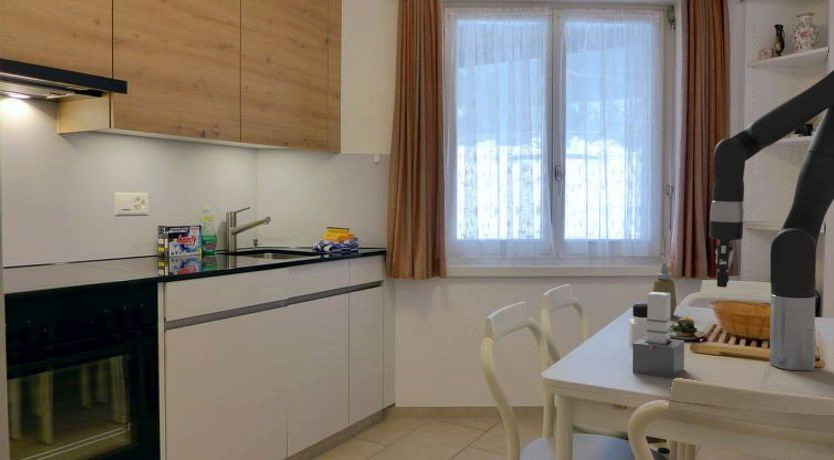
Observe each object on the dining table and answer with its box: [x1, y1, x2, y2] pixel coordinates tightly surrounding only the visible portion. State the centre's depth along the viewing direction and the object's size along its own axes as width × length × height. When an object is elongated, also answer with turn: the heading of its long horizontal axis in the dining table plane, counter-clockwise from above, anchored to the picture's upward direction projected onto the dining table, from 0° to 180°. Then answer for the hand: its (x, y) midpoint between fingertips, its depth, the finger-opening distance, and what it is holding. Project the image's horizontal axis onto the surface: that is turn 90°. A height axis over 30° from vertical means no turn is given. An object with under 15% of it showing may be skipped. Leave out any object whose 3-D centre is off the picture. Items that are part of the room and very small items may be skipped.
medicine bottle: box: [628, 302, 648, 348], centre depth 176 cm, size 7×7×12 cm
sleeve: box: [632, 336, 685, 380], centre depth 148 cm, size 16×16×8 cm
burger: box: [670, 313, 707, 341], centre depth 187 cm, size 12×12×8 cm
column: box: [647, 291, 672, 345], centre depth 148 cm, size 4×4×18 cm
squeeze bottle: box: [652, 262, 678, 317], centre depth 220 cm, size 8×8×18 cm
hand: (722, 284), depth 161 cm, fingers open, 8 cm apart
